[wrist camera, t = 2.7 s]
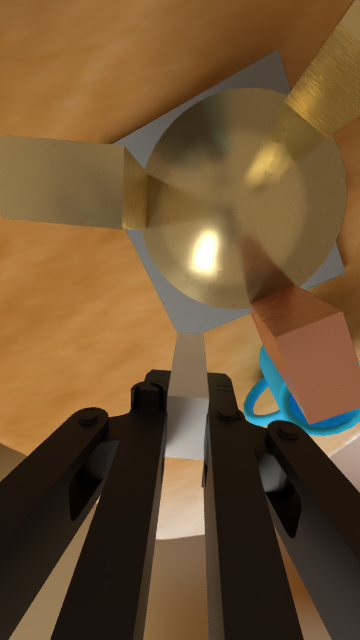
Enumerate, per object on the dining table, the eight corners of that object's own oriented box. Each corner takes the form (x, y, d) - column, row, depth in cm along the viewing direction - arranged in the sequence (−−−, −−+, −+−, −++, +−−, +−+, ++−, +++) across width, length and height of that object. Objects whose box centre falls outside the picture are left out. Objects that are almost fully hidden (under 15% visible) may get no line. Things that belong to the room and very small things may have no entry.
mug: (305, 308, 31) (343, 335, 23) (345, 361, 33) (393, 403, 25) (218, 371, 34) (225, 414, 26) (259, 417, 35) (277, 470, 28)
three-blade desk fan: (63, 186, 20) (-39, 153, 11) (353, 23, 16) (531, -208, 8) (170, 386, 24) (157, 475, 15) (415, 291, 21) (573, 336, 12)
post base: (94, 160, 27) (48, 128, 19) (293, 46, 24) (349, -55, 15) (181, 337, 33) (177, 376, 24) (356, 264, 29) (423, 279, 21)
